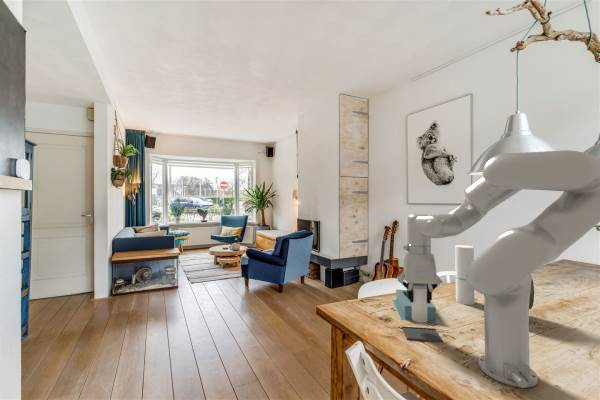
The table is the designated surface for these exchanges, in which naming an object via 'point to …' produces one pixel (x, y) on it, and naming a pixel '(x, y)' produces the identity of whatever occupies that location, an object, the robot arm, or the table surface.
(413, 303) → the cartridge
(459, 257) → the cylindrical container
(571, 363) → the table surface
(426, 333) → the mat
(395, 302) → the teal hollow block
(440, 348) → the table surface
